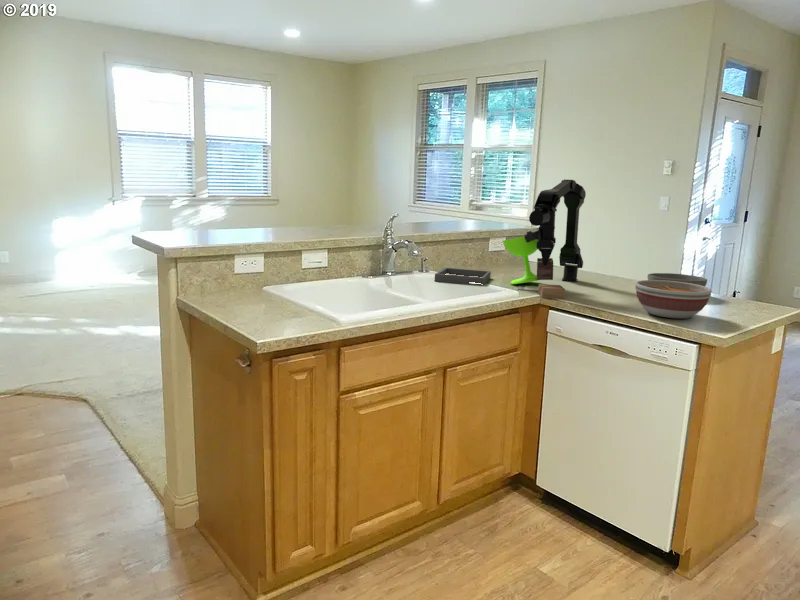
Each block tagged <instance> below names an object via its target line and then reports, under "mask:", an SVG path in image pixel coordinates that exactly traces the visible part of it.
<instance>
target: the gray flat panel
mask: <svg viewBox="0 0 800 600" xmlns="http://www.w3.org/2000/svg"><path fill="white" fill-rule="evenodd" d="M538 287H539V285H538V286H535V285H528V284H527V285H525V284H519V286H518V287H517V291H524V292H525V291H526V292H535V293H536V292H537V293H538Z"/></svg>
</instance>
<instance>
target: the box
mask: <svg viewBox="0 0 800 600" xmlns="http://www.w3.org/2000/svg"><path fill="white" fill-rule="evenodd" d="M536 275H537V281H553V280H554V259H553V258H552V257H550V258H549V260H548V262H547V265H543V260H542V257H541V258H540V257H539V258H537V259H536Z"/></svg>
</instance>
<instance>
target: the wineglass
mask: <svg viewBox="0 0 800 600" xmlns="http://www.w3.org/2000/svg"><path fill="white" fill-rule="evenodd" d="M538 241H539V240H538V239H535V240H532V241H530V242H528V243H526V240H525V237H524V236H521V237H520V236H519V237H515V238H512V239H511V238H510V239H506V240H502V243H503V246H504V248H505V249H506V251H507V252H508V253H510V254H511V255H513V256H514V257H515V256H516V257H520V258H522V257H523V263H524V269H525V273H524V275H523V277H520V278H516V279H512V280H511V281H510V283H509V284H510V285H518V284H519V285H520V284H524V283H525V284H526V283H531V282H537V281H538V280H537V274H535V273H533V272H532V271H531V266H530V265H531V264H530V260H529V256H531V255H532V254H534V253H535V252H537V250H538V249H537V248H536V247H537V242H538Z"/></svg>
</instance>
